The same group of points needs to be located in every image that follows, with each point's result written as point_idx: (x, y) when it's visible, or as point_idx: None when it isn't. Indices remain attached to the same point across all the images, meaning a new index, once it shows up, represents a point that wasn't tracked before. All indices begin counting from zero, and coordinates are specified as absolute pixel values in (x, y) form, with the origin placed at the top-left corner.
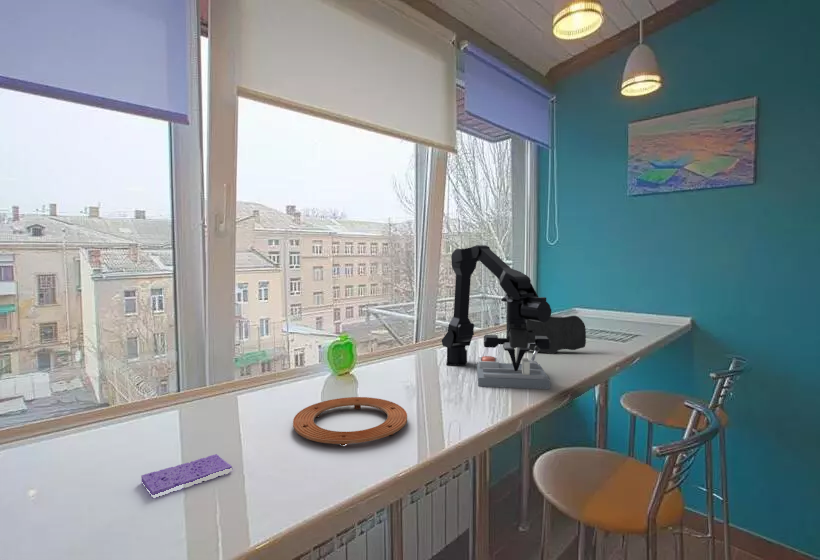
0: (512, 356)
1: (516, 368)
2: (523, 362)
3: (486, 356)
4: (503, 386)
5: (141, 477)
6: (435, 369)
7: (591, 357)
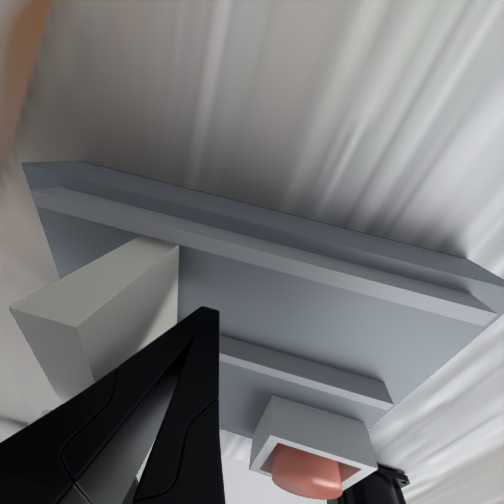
0: (190, 469)
1: (201, 317)
2: (106, 342)
3: (307, 494)
4: (321, 223)
5: None
6: (483, 465)
7: (9, 407)
